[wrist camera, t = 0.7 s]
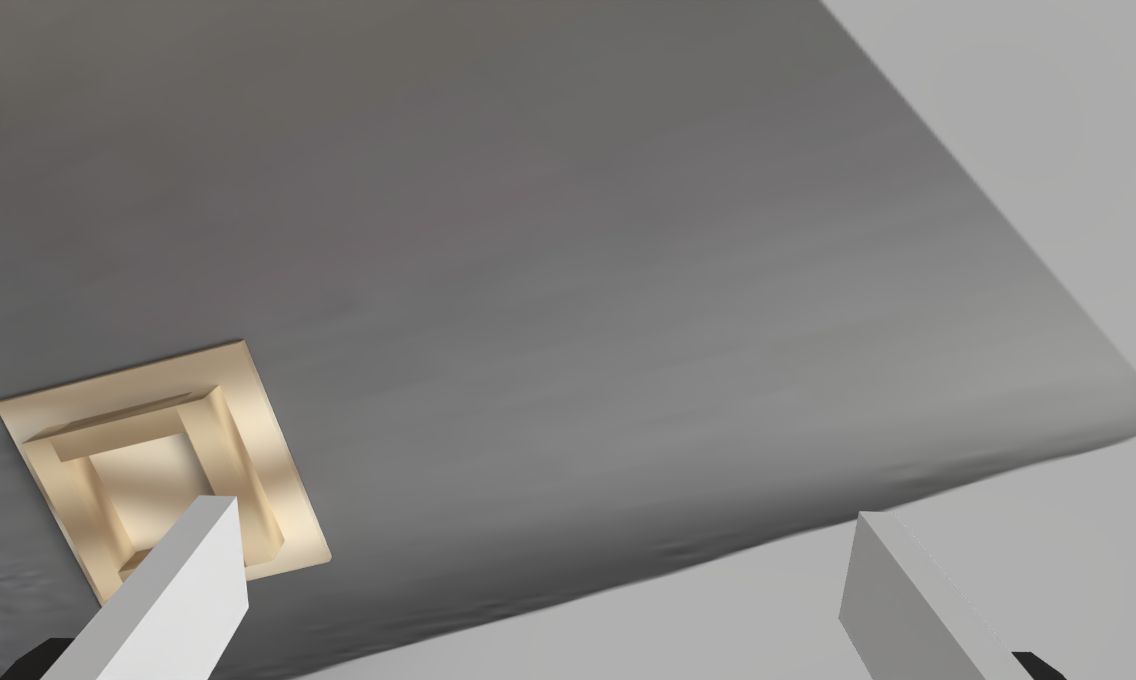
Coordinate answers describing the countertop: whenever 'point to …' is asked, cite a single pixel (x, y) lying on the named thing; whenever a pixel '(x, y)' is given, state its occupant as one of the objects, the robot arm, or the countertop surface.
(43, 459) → the beige square tray
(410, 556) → the countertop surface
